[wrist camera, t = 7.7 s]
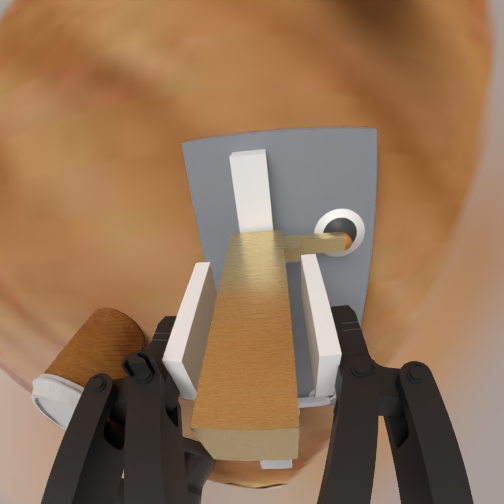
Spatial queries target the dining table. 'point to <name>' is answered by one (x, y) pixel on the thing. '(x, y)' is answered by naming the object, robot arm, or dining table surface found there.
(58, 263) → the dining table surface
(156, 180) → the dining table surface
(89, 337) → the disposable coffee cup
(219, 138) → the gauge plate
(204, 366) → the gold pointer slider
